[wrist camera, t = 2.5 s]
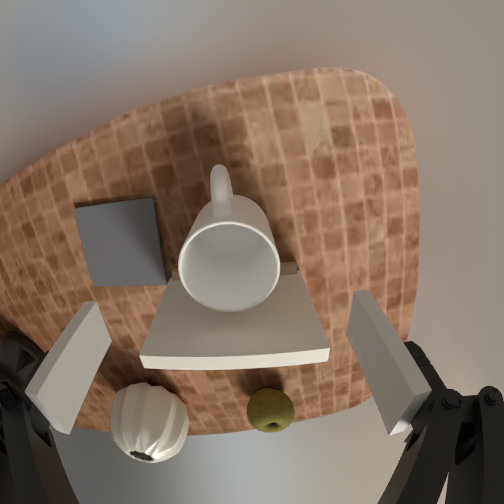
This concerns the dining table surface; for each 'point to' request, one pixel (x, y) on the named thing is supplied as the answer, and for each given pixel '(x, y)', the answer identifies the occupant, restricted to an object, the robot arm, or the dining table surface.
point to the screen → (236, 330)
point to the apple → (270, 410)
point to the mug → (229, 251)
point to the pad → (122, 243)
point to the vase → (148, 422)
